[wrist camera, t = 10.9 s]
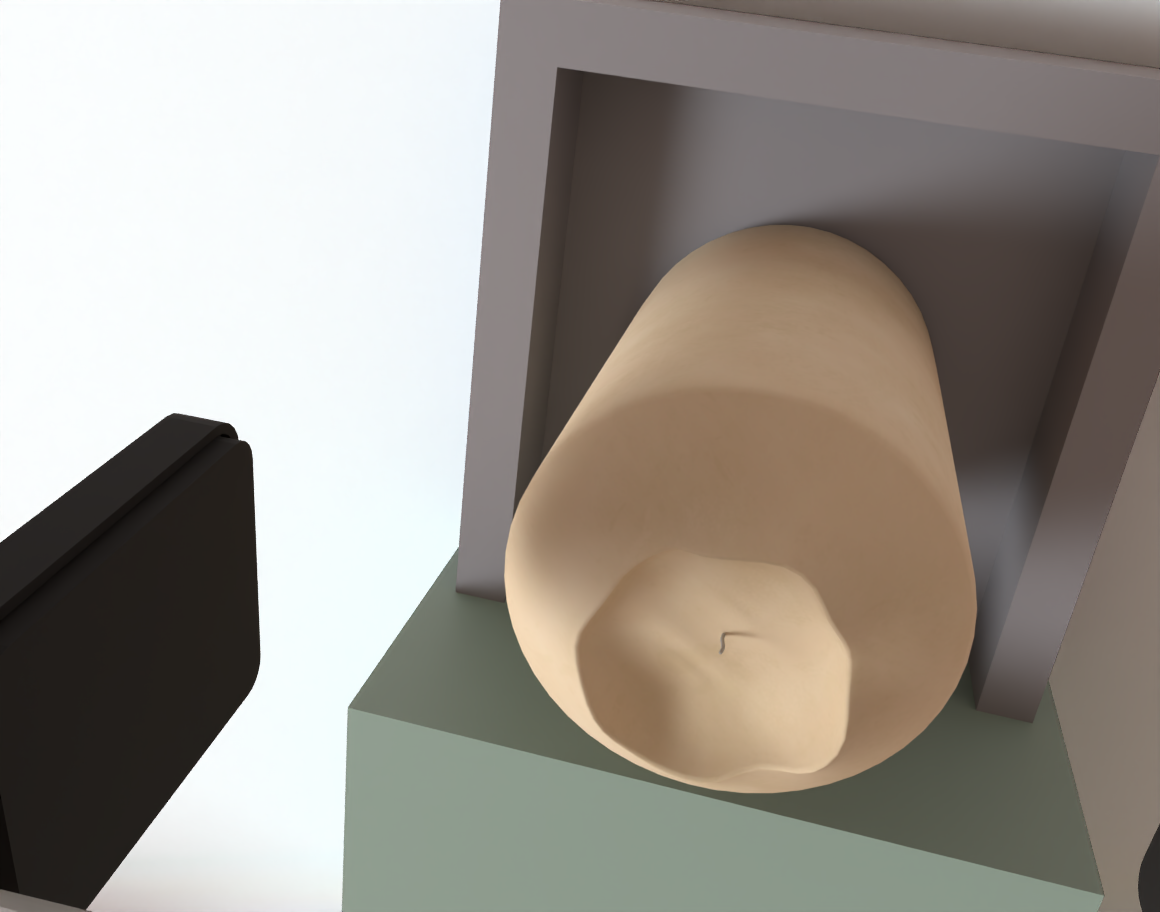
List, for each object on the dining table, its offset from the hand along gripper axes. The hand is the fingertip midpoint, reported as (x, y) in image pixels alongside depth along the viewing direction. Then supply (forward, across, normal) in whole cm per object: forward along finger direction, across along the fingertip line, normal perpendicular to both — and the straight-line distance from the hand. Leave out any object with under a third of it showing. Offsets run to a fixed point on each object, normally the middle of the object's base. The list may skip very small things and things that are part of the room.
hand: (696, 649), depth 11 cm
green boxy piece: (+12, -1, +8) cm, 14 cm away
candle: (+11, 0, +1) cm, 11 cm away
